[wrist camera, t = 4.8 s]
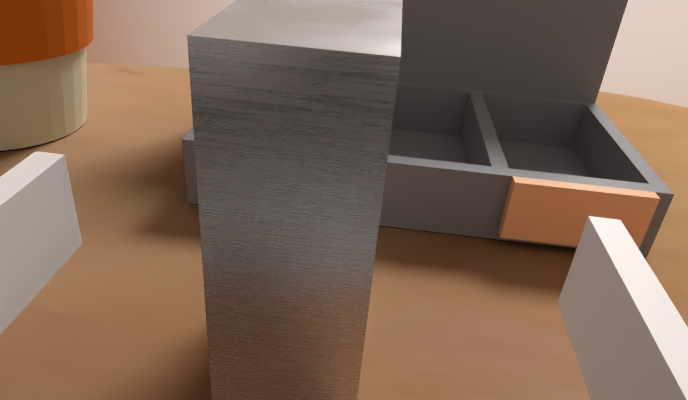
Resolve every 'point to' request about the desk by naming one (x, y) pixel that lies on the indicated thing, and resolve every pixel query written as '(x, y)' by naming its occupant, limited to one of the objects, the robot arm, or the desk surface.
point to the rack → (508, 126)
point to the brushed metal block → (291, 188)
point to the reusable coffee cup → (43, 69)
